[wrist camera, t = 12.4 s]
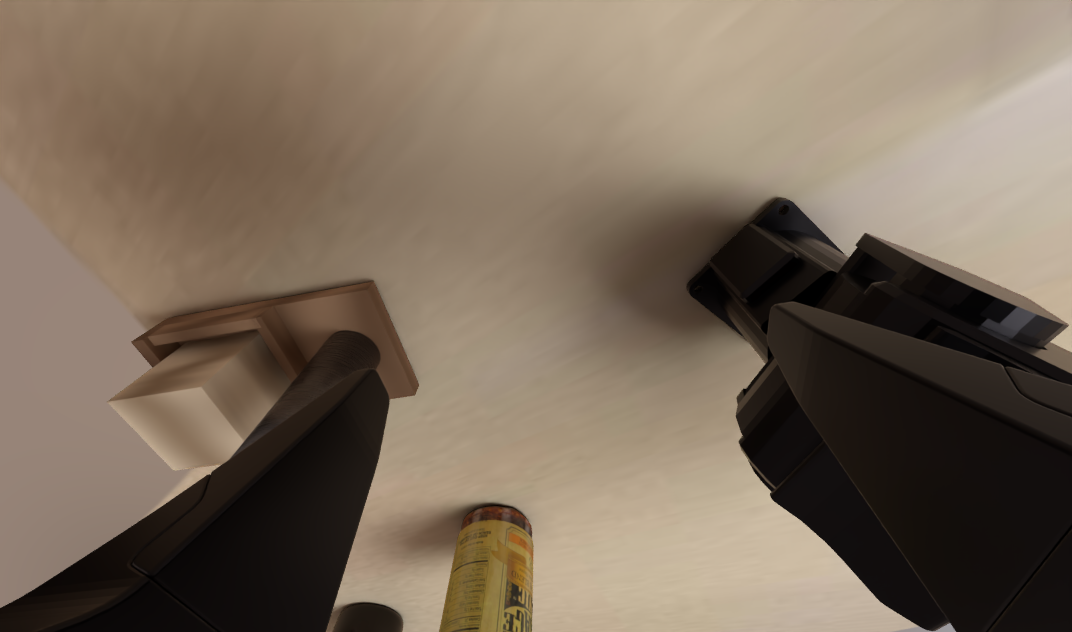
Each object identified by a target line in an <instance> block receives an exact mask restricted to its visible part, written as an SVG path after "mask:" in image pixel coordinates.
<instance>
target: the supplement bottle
mask: <svg viewBox="0 0 1072 632" xmlns="http://www.w3.org/2000/svg"><path fill="white" fill-rule="evenodd" d="M402 631H403V621H402V619H401V617H400V616H399V614H397V613H396V612H395V611H393V610H391V609H389V608H387V607H384V606H380V605H376V604H355V605H352V606H349V607H347V608H346V609H344V610H343V611H342V612H341V614H340V615H339V617H338V619H337V622H336V624H335V627H334V629H333V632H402Z"/></svg>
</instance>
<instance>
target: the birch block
mask: <svg viewBox="0 0 1072 632" xmlns="http://www.w3.org/2000/svg"><path fill="white" fill-rule="evenodd" d="M290 384H291V382H290V380H289V378H288V377H287V375H286V374H285V372H284V371H283V369H282V368H281V366H280V364H279V363H278V361H277V360H276V358H275V357H274V355H273V353H272V352H271V350H270V349H269V347H268V346H267V344H266V343H265V341H264V339H263V338H262V336H261V335H260V333H259V332H258V331H252V332H246V333H240V334H234V335H228V336H223V337H217V338H211V339H205V340H199V341H193V342H187V343H185V344H184V345H182V346H181V347H180V348H178V349H177V350H176V351H174V352H173V353H172V354H170V355H169V356H168V357H166V358H165V359H164V360H162V361H161V362H160V363H158V364H157V365H156V366H154V367H153V368H152V369H150V370H149V371H148V372H146V373H145V374H144V375H142V376H141V377H140V378H138V379H137V380H136V381H134V382H133V383H132V384H130V385H129V386H128V387H126V388H125V389H124V390H122V391H121V392H120V393H118V394H117V395H115V396H114V397H113V398H111V399H110V400H109V401H107V403H109V404H110V405H111V406H112V408H113V409H114V410H115V411H116V412H117V413H118V414H119V415H120V416H121V417H122V418H123V419H124V420H125V421H126V422H127V423H128V424H129V425H130V426H131V427H132V428H133V429H134V430H135V431H136V432H137V433H138V434H139V435H140V437H141V438H142V439H143V440H144V441H145V442H146V443H147V444H148V445H149V446H150V447H151V448H152V449H153V450H154V451H155V452H156V453H157V454H158V455H159V456H160V457H161V458H162V459H163V460H164V461H165V462H166V463H167V464H168V465H169V466H170V467H171V468H172V470H174V471H175V470H182V469H190V468H197V467H205V466H212V465H220V464H224V463H225V462H226V461H228V460H229V459H230V458H231V457H232V456H233V454H234V453H235V452H236V451H237V449H238V448H239V447H240V446H241V444H242V443H243V442H244V441H245V440H246V438H247V437H248V436H249V435H250V433H251V432H252V431H253V430H254V429H255V427H256V426H257V425H258V424H259V422H260V421H261V420H262V419H263V417H264V416H265V415H266V414H267V413H268V411H269V410H270V409H271V408H272V406H273V405H274V404H275V403H276V401H277V400H278V399H279V398H280V397H281V395H282V394H283V393H284V392H285V390H286V389H287V388H288V387H289V386H290Z"/></svg>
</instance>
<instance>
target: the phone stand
mask: <svg viewBox="0 0 1072 632" xmlns="http://www.w3.org/2000/svg"><path fill="white" fill-rule="evenodd" d="M252 331H258V332H259V333H260V335H261V336H262V338H263V339H264V341H265V343H266V344H267V346H268V347H269V349H270V350H271V352H272V353H273V355H274V357H275V358H276V360H277V361H278V363H279V364H280V366H281V368H282V369H283V371H284V372H285V374H286V375H287V377H288V378H289V380H290V382H291V384H290V386H289V387H288V388H287V389H286V390H285V392H284V393H283V394H282V395H281V397H280V398H279V399H278V400H277V401H276V403H275V404H274V405H273V406H272V408H271V409H270V410H269V411H268V413H267V414H266V415H265V416H264V417H263V419H262V420H261V421H260V422H259V424H258V425H257V426H256V427H255V429H254V430H253V431H252V432H251V433H250V435H249V436H248V437H247V438H246V440H245V441H244V442H243V443H242V444H241V446H240V447H239V448H238V449H237V451H236V452H235V453H234V454H233V456H232V457H234V456H235V455H236V454H238V453H239V452H241V451H242V450H244V449H245V448H246V447H248V446H249V445H251V444H252V443H254V442H255V441H256V440H258V439H259V438H261V437H262V436H263V435H265V434H266V433H268V432H269V431H271V430H272V429H273V428H275V427H276V426H278V425H279V424H281V423H282V422H283V421H285V420H286V419H288V418H289V417H290V416H292V415H293V414H295V413H296V412H298V411H299V410H300V409H302V408H303V407H305V406H306V405H308V404H309V403H310V402H312V401H313V400H315V399H316V398H318V397H319V396H320V395H322V394H323V393H325V392H326V391H327V390H329V389H330V388H332V387H333V386H335V385H336V384H337V383H339V382H340V381H342V380H343V379H345V378H346V377H347V376H349V375H350V374H352V373H353V372H355V371H357V370H361V369H367V368H373V369H375V370H376V371H377V372H378V374H379V376H380V378H381V380H382V382H383V384H384V386H385V388H386V390H387V392H388V394H389V399H393V398H400V397H407V396H414V395H415V394H416V392H417V389H418V387H419V384H418V381H417V379H416V377H415V374H414V372H413V370H412V368H411V365H410V363H409V361H408V358H407V356H406V354H405V351H404V349H403V347H402V345H401V342H400V340H399V338H398V335H397V333H396V331H395V329H394V326H393V324H392V322H391V319H390V317H389V315H388V313H387V310H386V308H385V306H384V303H383V301H382V299H381V297H380V294H379V292H378V290H377V287H376V285H375V283H374V282H368V283H362V284H357V285H351V286H346V287H340V288H334V289H329V290H323V291H318V292H312V293H306V294H301V295H295V296H290V297H284V298H278V299H273V300H267V301H261V302H256V303H250V304H245V305H239V306H233V307H228V308H222V309H217V310H211V311H205V312H200V313H194V314H189V315H183V316H177V317H172V318H167V319H166V320H164V321H163V322H161V323H160V324H158V325H157V326H155V327H153V328H152V329H150V330H149V331H147V332H146V333H144V334H143V335H141V336H140V337H138V338H136V339H135V340H133V341H132V344H133V345H134V346H135V347H136V348H137V349H138V350H139V352H140V353H141V354H142V355H143V357H144V358H145V359H146V360H147V361H148V362H149V364H150V365H151V366H152V367H154V366H156V365H157V364H158V363H160V362H161V361H162V360H164V359H165V358H166V357H168V356H169V355H170V354H172V353H173V352H174V351H176V350H177V349H178V348H180V347H181V346H182V345H184V344H185V343H187V342H193V341H199V340H205V339H211V338H217V337H223V336H228V335H234V334H240V333H246V332H252ZM232 457H231V458H232ZM231 458H230V459H231Z"/></svg>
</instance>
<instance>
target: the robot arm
mask: <svg viewBox="0 0 1072 632" xmlns="http://www.w3.org/2000/svg"><path fill="white" fill-rule="evenodd" d="M783 205H785V209H784V210H783V211H782V212H781V213H779V212H778V211H779V209H780V207H781V206H783ZM856 246H857V249H856V250H855V251H854V252H853V254H852V255H851V256H850V257H848V256H846V255H845V254H844V253H843V252H842V251H841V250H840V249H839V248H838V247H837V246H836V245H835V244H834V243H833V242H832V241H831V240H830V239H829V238H828V237H827V236H826V235H825V234H824V233H823V232H822V231H821V230H820V229H819V228H818V227H817V226H816V225H815V224H814V223H813V222H812V221H811V220H810V219H809V218H808V217H807V216H806V215H805V214H804V213H803V212H802V211H801V210H800V209H799V208H798V207H797V206H796V205H795V204H794V203H793V202H792V201H790V200H788V199H786V198H780V199H777V200H776V201H774V202H773V203H772V204H771V205H770V206H769V207H768V208H767V209H766V210H764V211H763V212H762V213H761V214H760V215H759V216H758V217H757V218H756V219H755V220H754V221H753V222H752V223H751V224H749V225H746V226H745V227H744V228H743V229H742V230H741V231H740V232H739V233H738V234H737V235H736V236H735V237H733V238H732V239H731V240H730V241H729V242H728V243H727V244H726V245H725V246H724V247H723V248H722V249H721V250H720V251H719V252H718V253H717V254H716V255H715V256H713V257H712V258H711V260H710V263H709V264H708V265H706V266H705V267H704V268H703V269H702V270H701V271H700V272H699V273H698V274H697V275H696V276H695V277H694V278H693V279H692V280H691V281H690V282H689V283H688V285H687V291H688V292H689V293H690V295H691V296H692V297H693V298H695V299H696V300H697V301H698V302H700V303H701V304H702V305H704V306H705V307H706V308H707V309H709V310H710V311H711V312H712V313H714V314H715V315H716V316H717V317H719V318H720V319H721V320H723V321H724V322H725V323H726V324H728V325H729V326H730V327H731V328H733V329H734V330H735V331H736V332H738V333H739V334H740V335H742V336H743V337H744V338H745V339H746V340H747V341H748V342H749V343H750V345H751V346H752V347H753V348H754V350H755V351H756V352H757V353H758V355H759V356H760V357H761V358H762V360H763V361H764V362H765V363H766V364H765V366H764V367H763V368H762V369H761V371H760V372H759V373H758V374H757V376H756V377H755V378H754V380H753V381H752V382H751V383H750V385H749V386H748V387H747V388H746V389H743V390H742V391H741V392H740V394H739V395H738V396H737V403H738V406H737V412H736V418H737V421H738V424H739V427H740V430H741V433H742V435H743V436H742V437H741V439H740V440H739V444H740V447H741V450H742V451H743V453H744V454H745V456H746V457H747V459H748V461H749V463H750V465H751V467H752V468H753V470H754V472H755V474H756V475H757V476H758V477H759V478H760V480H761V481H762V482H763V483H764V484H765V485H766V486H767V487H768V489H769V490H770V491H771V493H770V496H771V498H772V500H773V501H774V502H776V503H777V504H778V505H780V506H781V507H783V508H784V509H786V510H787V511H788V512H790V513H791V514H793V515H794V516H795V517H797V518H798V519H800V520H801V521H802V522H803V523H805V524H806V525H807V526H808V527H809V528H810V529H811V530H812V531H814V532H815V533H816V534H817V535H818V536H819V537H820V538H821V539H823V540H824V541H825V542H826V543H827V544H828V545H829V546H830V547H831V548H832V549H833V550H834V551H835V552H836V553H837V555H838V556H839V557H840V558H841V559H842V560H843V561H844V562H845V563H846V564H847V565H848V566H849V568H850V569H851V570H852V571H853V572H854V573H855V574H856V575H857V577H858V578H859V579H860V580H861V581H862V582H863V583H864V584H865V586H866V587H867V588H868V589H869V590H870V591H871V592H872V593H873V594H874V596H875V597H876V598H877V599H878V600H879V601H880V602H881V603H883V604H884V605H886V606H887V607H889V608H890V609H892V610H894V611H895V612H897V613H898V614H900V615H902V616H903V617H905V618H906V619H908V620H910V621H911V622H913V623H915V624H916V625H918V626H920V627H922V628H924V629H926V630H929V631H936V630H938V629H939V628H941V627H943V626H945V625H947V624H949V623H951V625H952V626H953V628H954V629H955V631H956V632H1072V353H1071V352H1069V351H1067V350H1065V349H1063V348H1061V347H1059V346H1057V345H1055V344H1053V343H1051V342H1050V341H1051V340H1052V339H1054V338H1055V337H1056V336H1057V335H1058V334H1060V333H1061V332H1062V331H1063V330H1064V329H1066V328H1067V327H1068V326H1069V325H1068V324H1067V323H1065V322H1064V321H1062V320H1061V319H1059V318H1058V317H1056V316H1055V315H1053V314H1052V313H1050V312H1048V311H1047V310H1045V309H1044V308H1042V307H1041V306H1039V305H1038V304H1036V303H1035V302H1033V301H1031V300H1030V299H1028V298H1026V297H1024V296H1022V295H1019V294H1017V293H1015V292H1013V291H1010V290H1008V289H1006V288H1003V287H1001V286H999V285H996V284H994V283H992V282H990V281H987V280H985V279H983V278H980V277H978V276H976V275H973V274H971V273H969V272H966V271H964V270H962V269H959V268H957V267H954V266H951V265H949V264H946V263H944V262H941V261H938V260H936V259H933V258H930V257H928V256H925V255H923V254H920V253H917V252H915V251H912V250H909V249H907V248H904V247H902V246H899V245H896V244H894V243H891V242H888V241H886V240H883V239H881V238H878V237H875V236H873V235H870V234H867V233H865V234H864V235H863V236H862V237H861V239H860V240H859V241H858V243H857V244H856ZM698 285H700V288H699V289H698V290H694V288H695V287H696V286H698ZM388 409H389V394H388V392H387V390H386V388H385V386H384V384H383V382H382V380H381V378H380V376H379V374H378V372H377V371H376V370H375V369H373V368H367V369H361V370H357V371H355V372H353V373H352V374H350V375H349V376H347V377H346V378H345V379H343V380H342V381H340V382H339V383H337V384H336V385H335V386H333V387H332V388H330V389H329V390H327V391H326V392H325V393H323V394H322V395H320V396H319V397H318V398H316V399H315V400H313V401H312V402H310V403H309V404H308V405H306V406H305V407H303V408H302V409H300V410H299V411H298V412H296V413H295V414H293V415H292V416H290V417H289V418H288V419H286V420H285V421H283V422H282V423H281V424H279V425H278V426H276V427H275V428H273V429H272V430H271V431H269V432H268V433H266V434H265V435H263V436H262V437H261V438H259V439H258V440H256V441H255V442H254V443H252V444H251V445H249V446H248V447H246V448H245V449H244V450H242V451H241V452H239V453H238V454H236V455H235V456H234V457H232V458H231V459H229V460H228V461H226V462H225V463H224V464H222V465H221V466H219V467H218V468H217V469H215V470H214V471H212V473H211V475H210V474H209V475H206V476H205V477H204V478H202V479H201V480H199V481H198V482H196V483H195V484H194V485H192V486H191V487H189V488H188V489H186V490H185V491H184V492H182V493H181V494H179V495H178V496H176V497H175V498H173V499H172V500H170V501H169V502H168V503H166V504H165V505H163V506H162V507H160V508H159V509H157V510H156V511H154V512H153V513H151V514H150V515H148V516H147V517H145V518H144V519H142V520H141V521H139V522H138V523H136V524H134V525H133V526H131V527H130V528H128V529H127V530H125V531H124V532H123V533H121V534H119V535H118V536H116V537H115V538H113V539H112V540H110V541H108V542H107V543H105V544H104V545H102V546H101V547H99V548H98V549H96V550H94V551H93V552H91V553H90V554H88V555H87V556H85V557H84V558H82V559H81V560H79V561H77V562H76V563H74V564H73V565H71V566H70V567H68V568H67V569H65V570H64V571H62V572H60V573H59V574H57V575H56V576H54V577H53V578H51V579H50V580H48V581H46V582H45V583H43V584H42V585H40V586H39V587H37V588H35V589H34V590H32V591H31V592H29V593H27V594H26V595H24V596H22V597H21V598H19V599H17V600H15V601H13V602H11V603H9V604H7V605H5V606H3V607H2V608H0V632H326V629H327V626H328V623H329V620H330V616H331V613H332V610H333V607H334V603H335V600H336V597H337V594H338V590H339V587H340V584H341V581H342V577H343V574H344V571H345V568H346V564H347V561H348V558H349V555H350V551H351V548H352V545H353V542H354V538H355V535H356V532H357V529H358V525H359V522H360V519H361V516H362V513H363V509H364V506H365V503H366V500H367V496H368V493H369V490H370V487H371V483H372V480H373V477H374V474H375V470H376V467H377V463H378V459H379V455H380V450H381V445H382V440H383V435H384V429H385V424H386V419H387V414H388Z"/></svg>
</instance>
